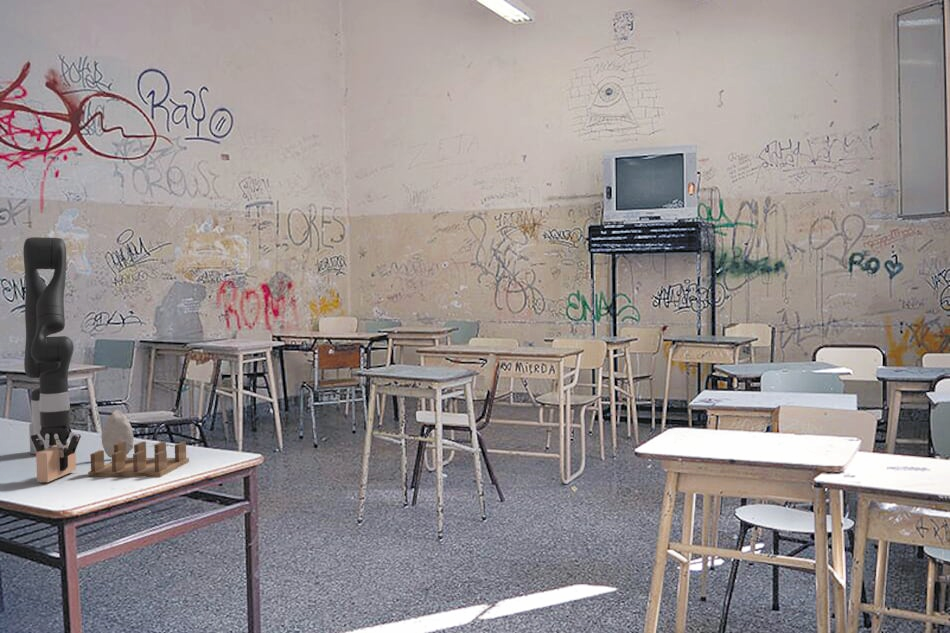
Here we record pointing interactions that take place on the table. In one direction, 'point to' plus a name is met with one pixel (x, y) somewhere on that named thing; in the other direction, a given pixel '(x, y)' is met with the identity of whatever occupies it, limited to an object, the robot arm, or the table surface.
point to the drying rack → (138, 461)
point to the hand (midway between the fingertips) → (57, 469)
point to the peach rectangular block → (52, 464)
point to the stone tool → (117, 433)
